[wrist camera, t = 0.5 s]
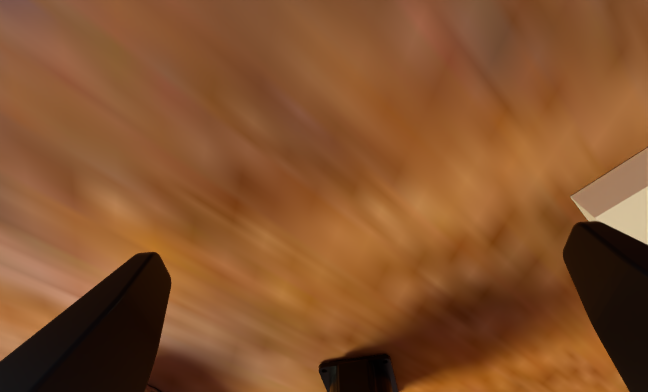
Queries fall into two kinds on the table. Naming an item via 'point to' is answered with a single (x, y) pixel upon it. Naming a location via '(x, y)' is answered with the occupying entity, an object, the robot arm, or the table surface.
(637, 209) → the block
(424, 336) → the table surface
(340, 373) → the robot arm
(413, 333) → the table surface
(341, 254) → the table surface
